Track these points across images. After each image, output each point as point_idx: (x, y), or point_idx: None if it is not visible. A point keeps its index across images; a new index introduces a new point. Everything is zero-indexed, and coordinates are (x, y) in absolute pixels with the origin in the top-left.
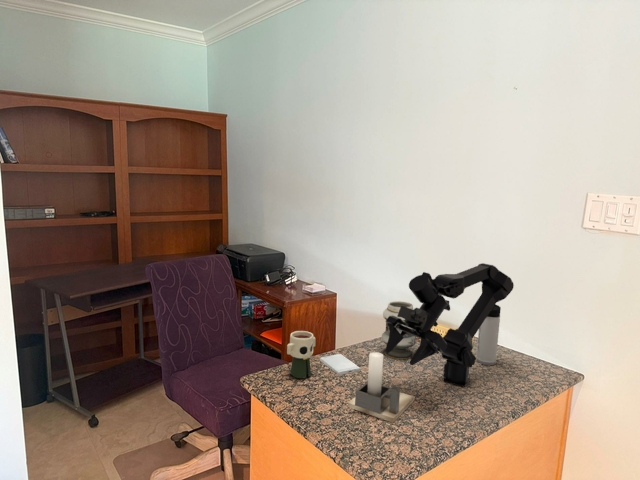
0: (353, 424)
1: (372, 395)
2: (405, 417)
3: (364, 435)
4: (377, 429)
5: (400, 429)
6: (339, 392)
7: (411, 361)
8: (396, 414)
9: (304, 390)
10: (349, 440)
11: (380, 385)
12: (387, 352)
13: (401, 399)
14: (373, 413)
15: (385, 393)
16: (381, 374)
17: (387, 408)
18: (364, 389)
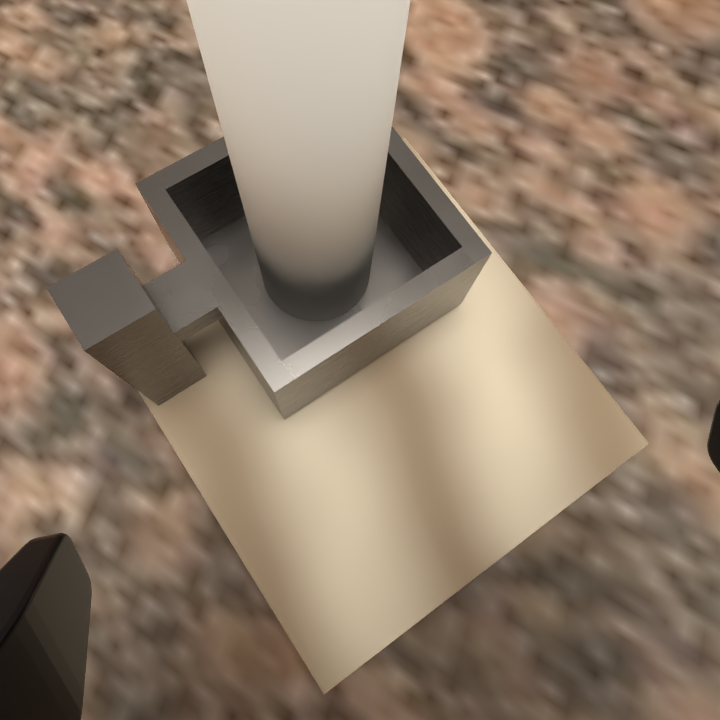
0: (199, 98)
1: (221, 151)
2: (127, 453)
3: (67, 100)
4: (86, 196)
5: (14, 329)
6: (605, 194)
7: (8, 567)
8: None
9: (677, 16)
10: (64, 12)
11: (245, 209)
12: (715, 436)
13: (317, 542)
14: None
15: (207, 271)
16: (228, 140)
17: (232, 349)
18: (403, 195)
